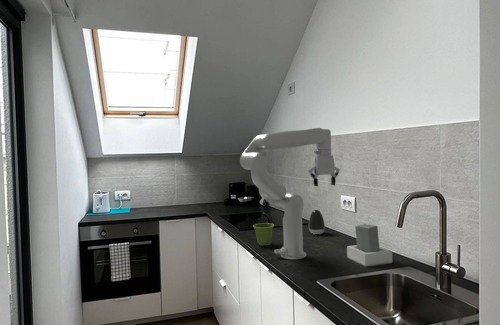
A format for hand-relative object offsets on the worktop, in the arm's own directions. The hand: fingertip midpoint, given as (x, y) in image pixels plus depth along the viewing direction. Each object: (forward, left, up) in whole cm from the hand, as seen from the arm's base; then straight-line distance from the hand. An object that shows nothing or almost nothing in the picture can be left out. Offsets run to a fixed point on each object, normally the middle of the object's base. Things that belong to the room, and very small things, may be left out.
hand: (324, 185), depth 184 cm
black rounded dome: (+12, +35, -34) cm, 50 cm away
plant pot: (-27, +22, -34) cm, 49 cm away
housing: (+10, -24, -34) cm, 42 cm away
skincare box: (+9, -24, -33) cm, 42 cm away
